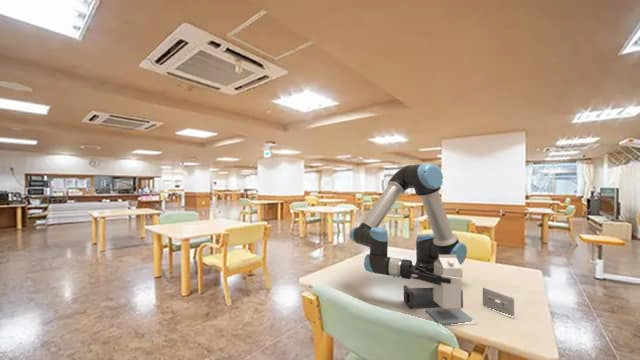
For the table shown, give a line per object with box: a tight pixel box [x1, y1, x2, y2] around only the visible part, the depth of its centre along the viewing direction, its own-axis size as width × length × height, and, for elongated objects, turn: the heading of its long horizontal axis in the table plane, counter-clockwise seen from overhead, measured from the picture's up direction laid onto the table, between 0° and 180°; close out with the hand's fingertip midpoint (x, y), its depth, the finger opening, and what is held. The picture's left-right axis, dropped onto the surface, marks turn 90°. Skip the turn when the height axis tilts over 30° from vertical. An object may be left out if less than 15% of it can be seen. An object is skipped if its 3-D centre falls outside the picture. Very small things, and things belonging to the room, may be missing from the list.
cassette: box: [482, 286, 515, 317], centre depth 107 cm, size 12×2×8 cm, turn 25°
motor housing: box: [403, 284, 464, 310], centre depth 113 cm, size 23×7×7 cm, turn 95°
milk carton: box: [433, 255, 463, 309], centre depth 103 cm, size 7×7×19 cm
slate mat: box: [424, 308, 473, 326], centre depth 102 cm, size 14×11×1 cm
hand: (461, 278), depth 100 cm, fingers closed on milk carton, 10 cm apart
